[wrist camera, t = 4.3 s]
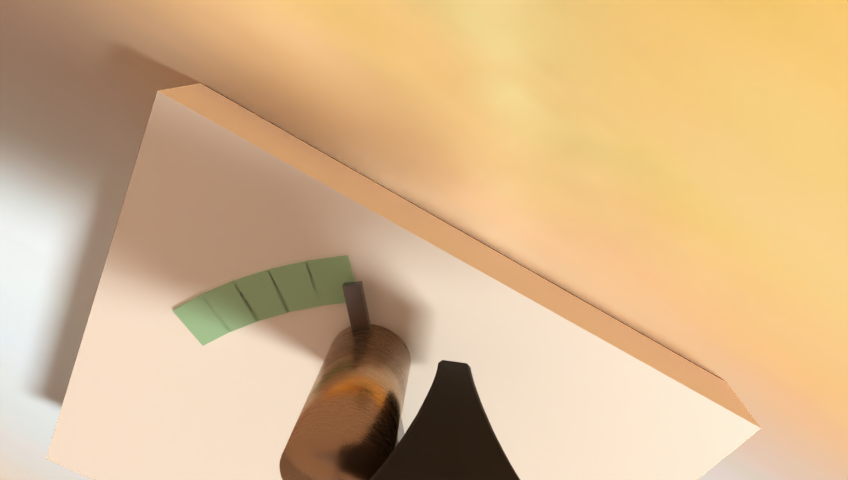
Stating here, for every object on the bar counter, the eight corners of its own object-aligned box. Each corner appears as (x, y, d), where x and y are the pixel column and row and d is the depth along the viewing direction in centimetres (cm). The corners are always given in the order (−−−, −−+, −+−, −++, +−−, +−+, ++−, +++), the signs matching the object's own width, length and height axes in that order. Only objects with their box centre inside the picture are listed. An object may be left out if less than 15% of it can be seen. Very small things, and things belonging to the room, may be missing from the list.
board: (483, 599, 22) (484, 655, 20) (86, 418, 19) (43, 461, 17) (727, 382, 16) (763, 431, 14) (200, 82, 13) (154, 91, 11)
